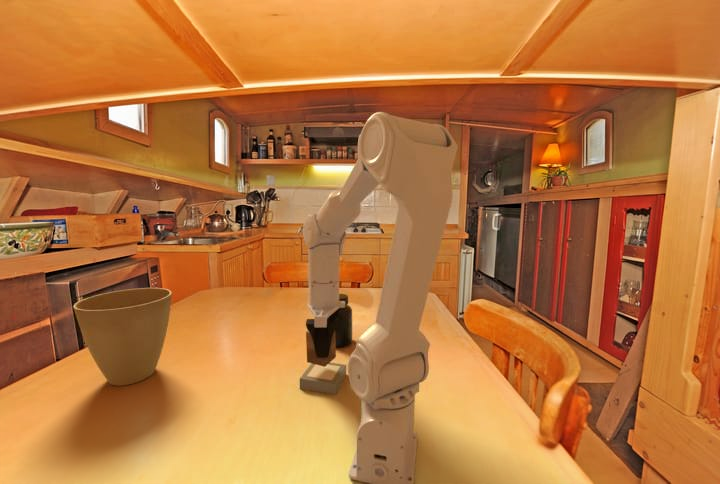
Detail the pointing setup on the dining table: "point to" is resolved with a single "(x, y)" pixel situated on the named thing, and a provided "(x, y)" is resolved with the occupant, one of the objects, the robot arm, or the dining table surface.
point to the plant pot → (125, 331)
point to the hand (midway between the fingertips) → (323, 348)
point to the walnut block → (312, 355)
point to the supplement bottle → (343, 324)
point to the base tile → (323, 378)
